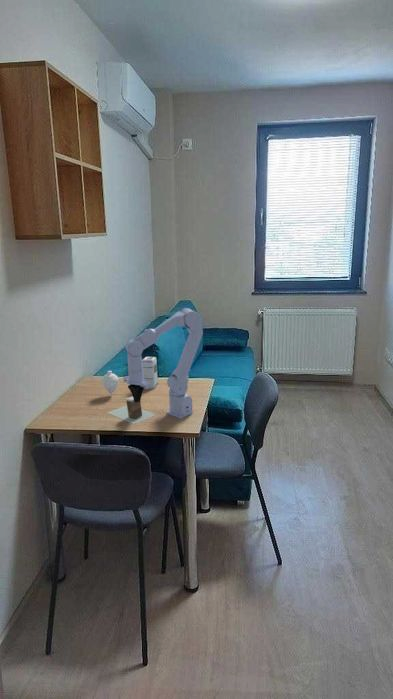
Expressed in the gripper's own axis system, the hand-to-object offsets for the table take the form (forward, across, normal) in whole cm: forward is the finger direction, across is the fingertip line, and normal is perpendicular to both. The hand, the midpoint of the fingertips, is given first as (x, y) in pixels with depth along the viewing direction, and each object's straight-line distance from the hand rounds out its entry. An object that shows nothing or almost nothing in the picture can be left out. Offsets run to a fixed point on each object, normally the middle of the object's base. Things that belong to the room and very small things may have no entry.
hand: (137, 401), depth 184 cm
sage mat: (+8, -6, +1) cm, 10 cm away
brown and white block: (+7, -2, 0) cm, 7 cm away
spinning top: (+8, -31, +9) cm, 33 cm away
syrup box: (+8, -26, +29) cm, 40 cm away
